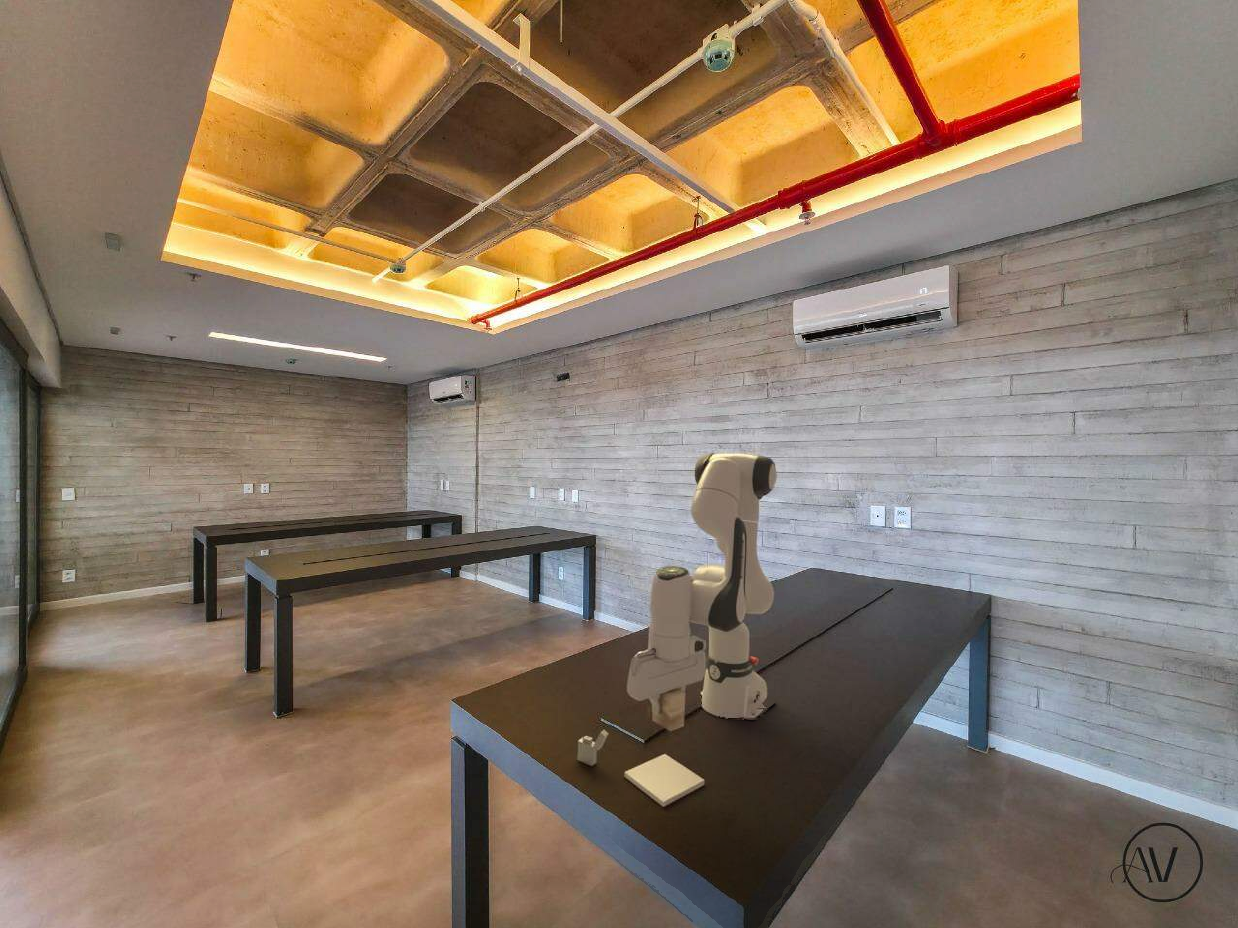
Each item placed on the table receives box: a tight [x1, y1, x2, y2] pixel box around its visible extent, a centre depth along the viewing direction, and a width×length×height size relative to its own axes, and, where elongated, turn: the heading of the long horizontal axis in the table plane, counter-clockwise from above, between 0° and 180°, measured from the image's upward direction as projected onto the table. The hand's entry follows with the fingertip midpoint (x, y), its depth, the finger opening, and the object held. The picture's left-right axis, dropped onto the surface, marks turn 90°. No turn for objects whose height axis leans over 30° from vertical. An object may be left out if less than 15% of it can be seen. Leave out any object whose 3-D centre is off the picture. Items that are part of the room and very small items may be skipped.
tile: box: [624, 753, 705, 808], centre depth 108 cm, size 12×12×1 cm
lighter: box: [577, 729, 609, 767], centre depth 114 cm, size 7×2×8 cm, turn 59°
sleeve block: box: [646, 689, 686, 732], centre depth 108 cm, size 7×4×7 cm, turn 39°
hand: (666, 709), depth 108 cm, fingers closed on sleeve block, 4 cm apart
